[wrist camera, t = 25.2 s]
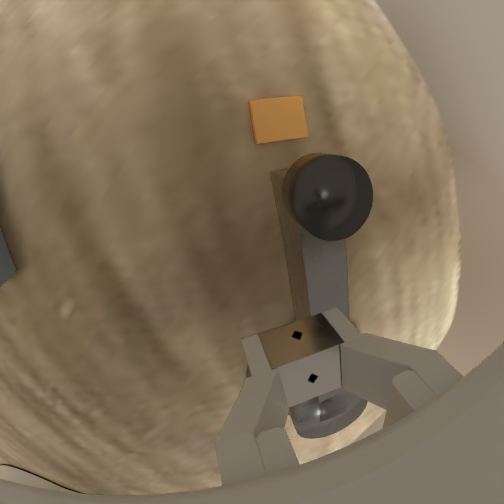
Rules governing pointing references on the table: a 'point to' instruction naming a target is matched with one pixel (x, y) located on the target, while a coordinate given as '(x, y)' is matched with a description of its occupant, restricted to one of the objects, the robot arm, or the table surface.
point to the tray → (5, 261)
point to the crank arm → (321, 261)
